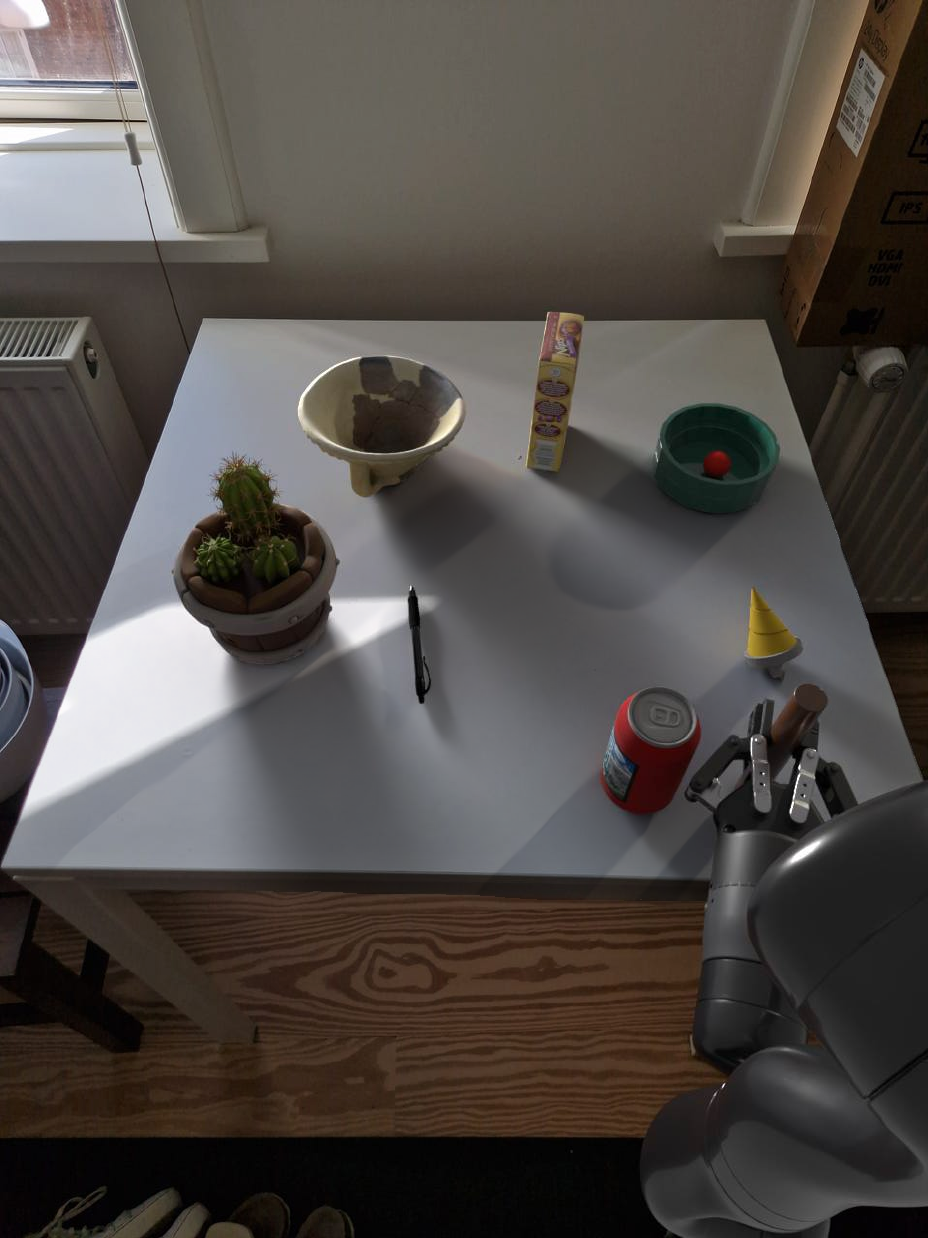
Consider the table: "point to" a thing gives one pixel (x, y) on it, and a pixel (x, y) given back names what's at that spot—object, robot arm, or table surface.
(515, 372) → the table surface
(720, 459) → the red ball
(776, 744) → the stirring stick
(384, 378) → the bowl
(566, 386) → the candy box
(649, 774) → the beverage can
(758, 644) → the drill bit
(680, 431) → the mixing bowl
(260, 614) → the flowerpot
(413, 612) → the pen
